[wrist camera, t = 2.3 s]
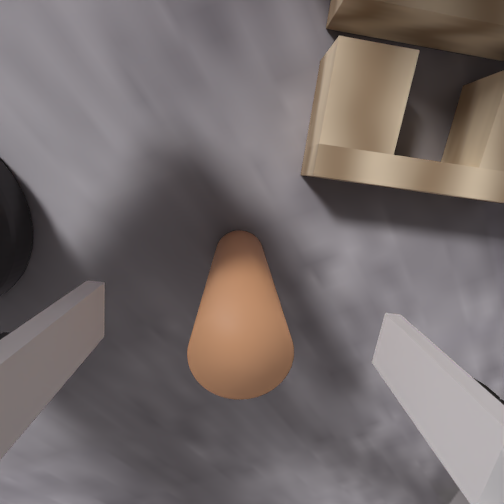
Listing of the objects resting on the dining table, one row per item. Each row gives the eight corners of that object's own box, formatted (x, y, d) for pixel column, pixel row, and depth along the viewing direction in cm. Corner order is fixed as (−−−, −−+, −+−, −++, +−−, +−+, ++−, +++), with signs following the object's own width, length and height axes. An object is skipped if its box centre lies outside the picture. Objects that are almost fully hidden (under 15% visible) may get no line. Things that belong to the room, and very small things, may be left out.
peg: (213, 273, 25) (183, 395, 11) (218, 227, 24) (191, 301, 10) (259, 278, 25) (284, 403, 12) (266, 233, 24) (302, 312, 10)
